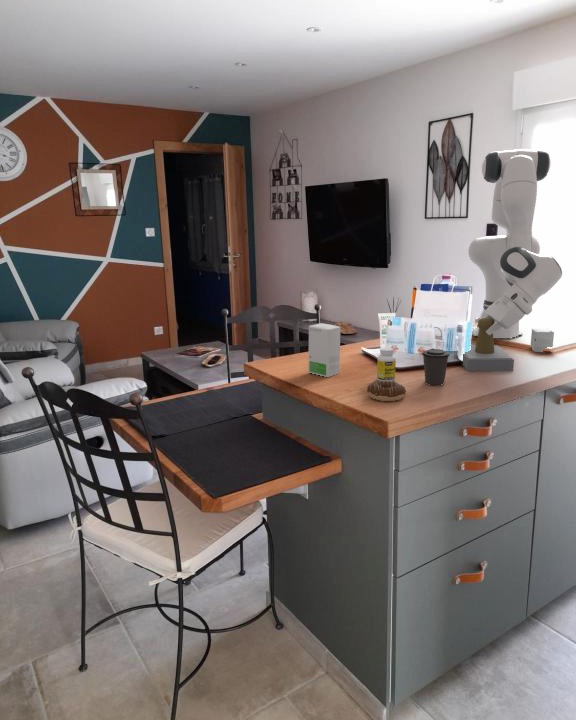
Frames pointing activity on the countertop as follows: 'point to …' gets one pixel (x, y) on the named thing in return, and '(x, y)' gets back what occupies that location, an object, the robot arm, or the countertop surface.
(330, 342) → the skincare box
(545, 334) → the skincare box
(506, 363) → the plinth
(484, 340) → the cork
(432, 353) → the coffee cup
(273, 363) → the countertop surface
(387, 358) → the supplement bottle
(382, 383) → the donut
